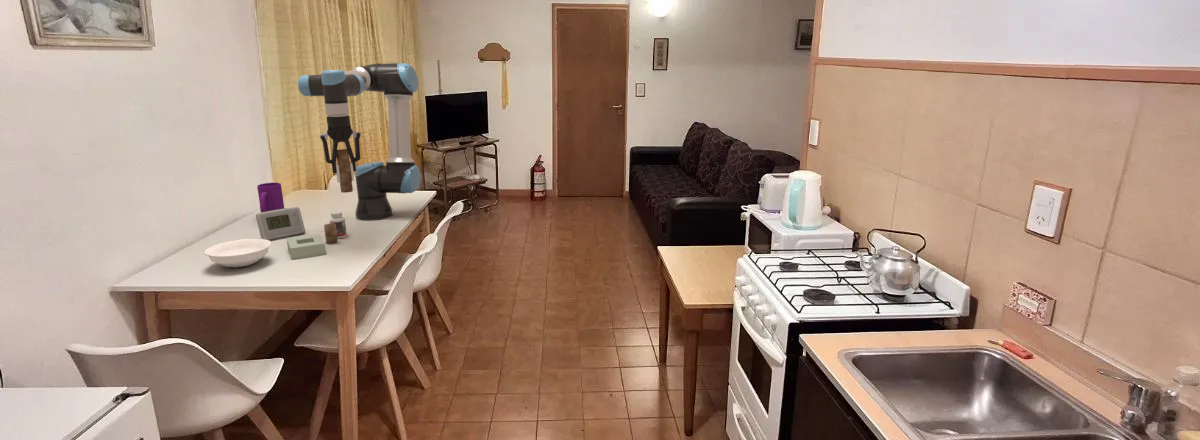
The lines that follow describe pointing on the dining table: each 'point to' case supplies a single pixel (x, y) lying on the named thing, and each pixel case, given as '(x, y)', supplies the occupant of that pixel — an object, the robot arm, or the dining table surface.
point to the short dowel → (330, 233)
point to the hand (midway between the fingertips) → (345, 181)
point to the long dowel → (344, 170)
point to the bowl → (238, 252)
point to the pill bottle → (339, 223)
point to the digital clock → (280, 223)
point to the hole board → (306, 246)
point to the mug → (270, 196)
